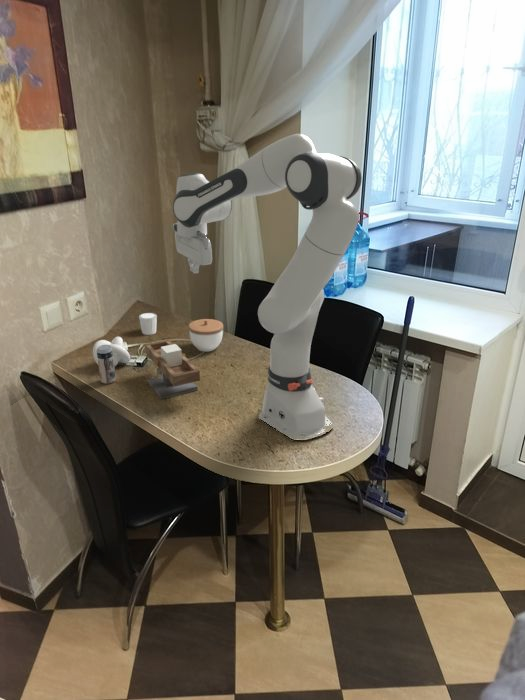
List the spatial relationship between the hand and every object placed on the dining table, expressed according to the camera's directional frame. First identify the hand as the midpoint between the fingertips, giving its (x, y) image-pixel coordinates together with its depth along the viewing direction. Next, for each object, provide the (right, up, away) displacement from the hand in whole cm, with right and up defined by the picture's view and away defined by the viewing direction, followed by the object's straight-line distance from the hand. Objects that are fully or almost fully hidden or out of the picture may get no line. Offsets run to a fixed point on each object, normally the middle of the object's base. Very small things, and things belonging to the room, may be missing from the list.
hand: (194, 272), depth 159 cm
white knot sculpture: (-30, -30, +13) cm, 45 cm away
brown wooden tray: (-7, -36, 0) cm, 37 cm away
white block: (-6, -29, -4) cm, 30 cm away
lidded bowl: (+1, -24, +28) cm, 37 cm away
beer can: (-28, -35, +2) cm, 45 cm away
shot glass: (-23, -18, +40) cm, 49 cm away
